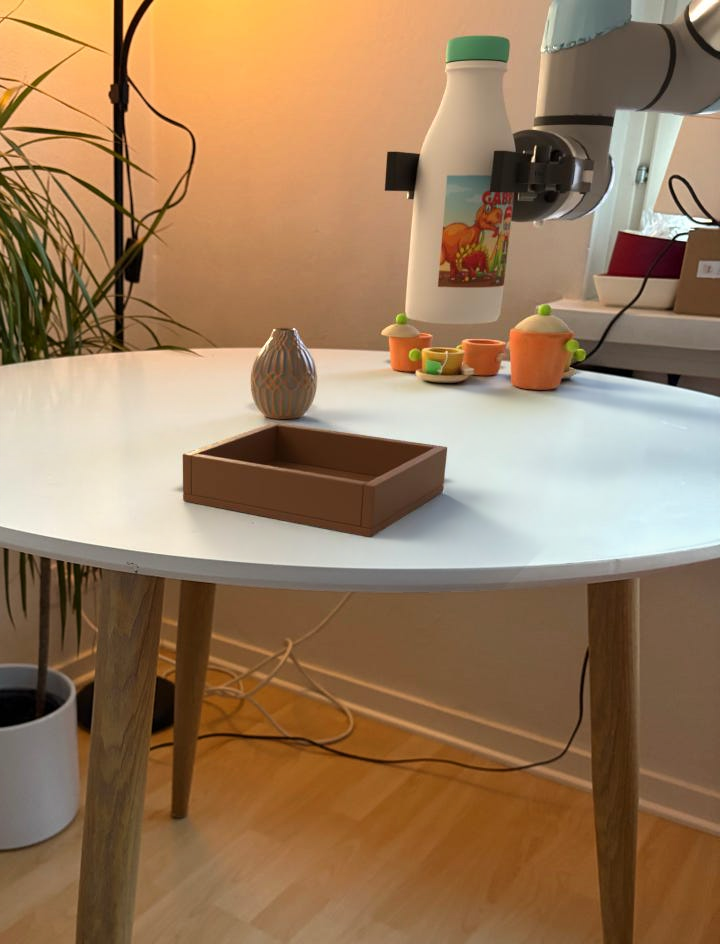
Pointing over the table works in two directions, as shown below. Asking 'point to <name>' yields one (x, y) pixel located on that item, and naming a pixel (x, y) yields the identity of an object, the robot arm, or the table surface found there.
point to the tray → (315, 477)
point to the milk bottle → (462, 193)
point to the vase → (284, 376)
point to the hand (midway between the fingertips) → (442, 171)
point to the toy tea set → (491, 353)
